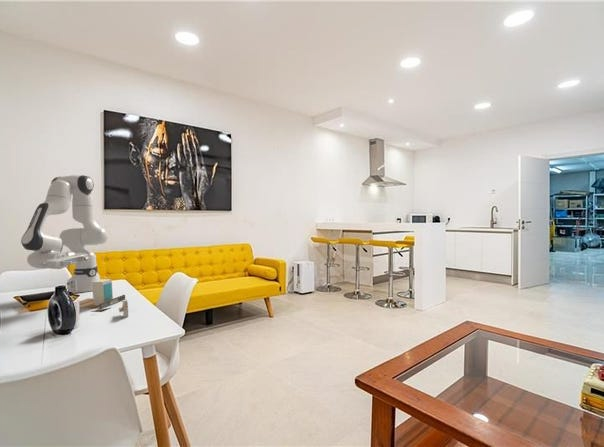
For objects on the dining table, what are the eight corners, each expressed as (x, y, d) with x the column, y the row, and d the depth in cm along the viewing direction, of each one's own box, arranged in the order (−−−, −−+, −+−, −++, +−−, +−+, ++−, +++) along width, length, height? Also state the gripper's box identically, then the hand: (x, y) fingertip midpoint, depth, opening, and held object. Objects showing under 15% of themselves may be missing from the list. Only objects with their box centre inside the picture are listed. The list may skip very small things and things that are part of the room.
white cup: (85, 324, 136) (83, 301, 136) (70, 331, 128) (68, 307, 128) (68, 324, 137) (67, 301, 137) (52, 331, 129) (50, 307, 129)
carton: (93, 305, 159) (92, 281, 159) (102, 301, 165) (101, 279, 165) (104, 305, 158) (103, 282, 158) (113, 302, 164) (112, 279, 164)
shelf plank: (61, 310, 157) (60, 302, 157) (88, 301, 173) (88, 293, 172) (102, 312, 153) (101, 303, 153) (125, 302, 168) (125, 294, 168)
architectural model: (119, 319, 143) (119, 303, 142) (119, 315, 149) (118, 300, 148) (128, 318, 145) (127, 302, 144) (127, 314, 150) (126, 298, 150)
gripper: (37, 258, 155) (61, 259, 153) (74, 251, 175) (95, 251, 173) (39, 271, 156) (62, 271, 153) (75, 262, 176) (96, 262, 173)
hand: (80, 261), depth 163 cm, fingers open, 8 cm apart
